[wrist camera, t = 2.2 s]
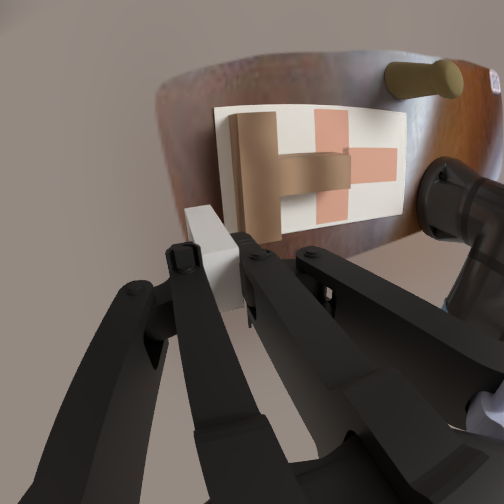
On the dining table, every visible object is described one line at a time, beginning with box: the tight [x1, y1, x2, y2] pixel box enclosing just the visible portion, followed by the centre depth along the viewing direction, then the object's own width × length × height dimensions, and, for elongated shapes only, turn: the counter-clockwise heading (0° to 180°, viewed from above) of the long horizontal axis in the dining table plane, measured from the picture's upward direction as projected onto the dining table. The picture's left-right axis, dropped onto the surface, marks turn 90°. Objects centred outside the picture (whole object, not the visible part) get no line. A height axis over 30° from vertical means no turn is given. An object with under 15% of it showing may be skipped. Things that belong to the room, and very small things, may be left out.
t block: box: [228, 111, 351, 244], centre depth 32 cm, size 13×14×4 cm
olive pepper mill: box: [384, 60, 463, 100], centre depth 28 cm, size 6×6×11 cm
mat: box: [214, 104, 406, 234], centre depth 35 cm, size 28×16×1 cm, turn 94°
